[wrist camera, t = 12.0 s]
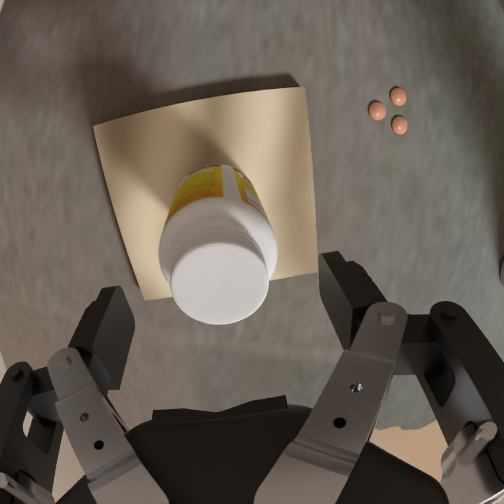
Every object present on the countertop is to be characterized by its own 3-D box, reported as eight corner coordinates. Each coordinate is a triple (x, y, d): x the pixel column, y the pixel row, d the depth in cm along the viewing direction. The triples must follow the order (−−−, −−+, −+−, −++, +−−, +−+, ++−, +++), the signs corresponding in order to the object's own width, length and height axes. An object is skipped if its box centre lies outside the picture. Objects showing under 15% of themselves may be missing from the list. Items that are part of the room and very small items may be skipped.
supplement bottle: (165, 225, 22) (136, 320, 13) (190, 150, 20) (169, 200, 11) (239, 248, 23) (257, 350, 14) (269, 178, 21) (313, 248, 12)
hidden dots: (405, 88, 20) (405, 88, 19) (407, 133, 21) (407, 133, 21) (367, 87, 19) (367, 87, 19) (370, 135, 21) (370, 135, 21)
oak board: (300, 86, 19) (304, 86, 18) (314, 265, 26) (317, 271, 25) (98, 124, 19) (92, 125, 18) (146, 293, 25) (144, 300, 24)
